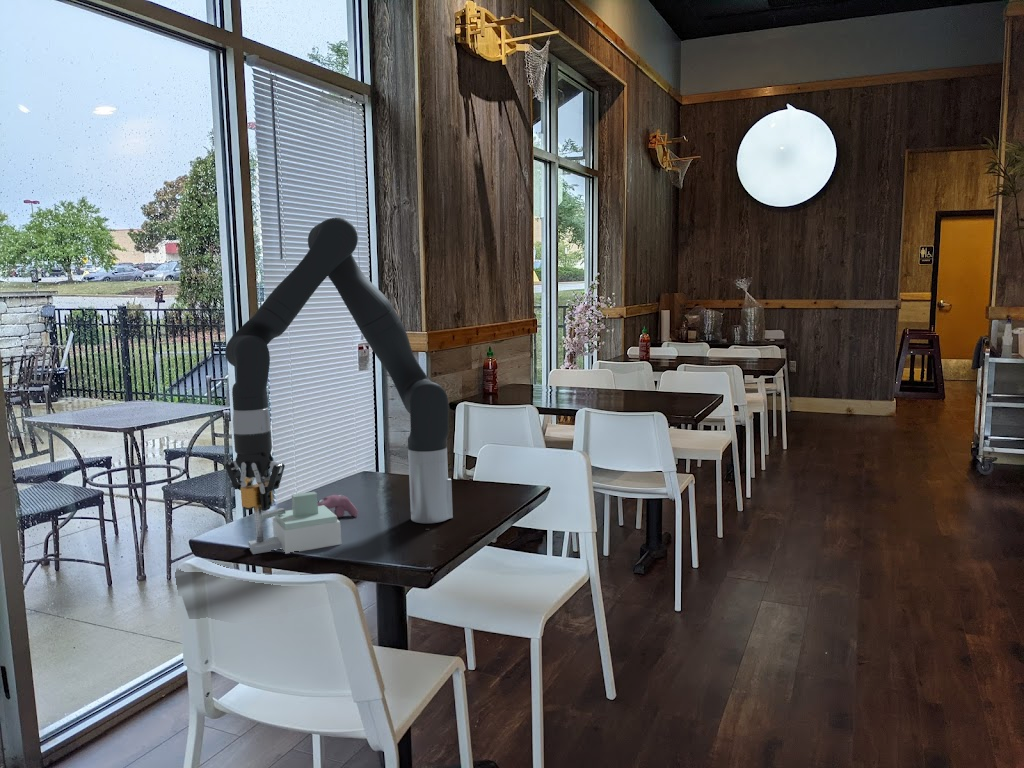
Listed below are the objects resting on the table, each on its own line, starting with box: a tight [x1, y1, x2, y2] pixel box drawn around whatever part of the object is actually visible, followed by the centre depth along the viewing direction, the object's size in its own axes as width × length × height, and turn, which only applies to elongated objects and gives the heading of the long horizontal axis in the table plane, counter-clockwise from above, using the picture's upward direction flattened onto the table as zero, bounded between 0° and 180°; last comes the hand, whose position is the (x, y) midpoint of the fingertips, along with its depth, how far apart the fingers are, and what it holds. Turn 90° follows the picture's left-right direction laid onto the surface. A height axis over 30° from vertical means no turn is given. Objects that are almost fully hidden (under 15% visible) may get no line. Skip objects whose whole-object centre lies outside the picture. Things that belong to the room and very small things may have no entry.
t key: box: [240, 483, 287, 542], centre depth 173 cm, size 9×2×12 cm, turn 140°
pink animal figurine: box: [318, 494, 359, 519], centre depth 195 cm, size 10×5×7 cm, turn 141°
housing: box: [248, 516, 342, 555], centre depth 176 cm, size 18×12×5 cm, turn 118°
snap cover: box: [274, 491, 338, 530], centre depth 177 cm, size 11×11×6 cm
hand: (257, 508), depth 172 cm, fingers closed on t key, 3 cm apart
